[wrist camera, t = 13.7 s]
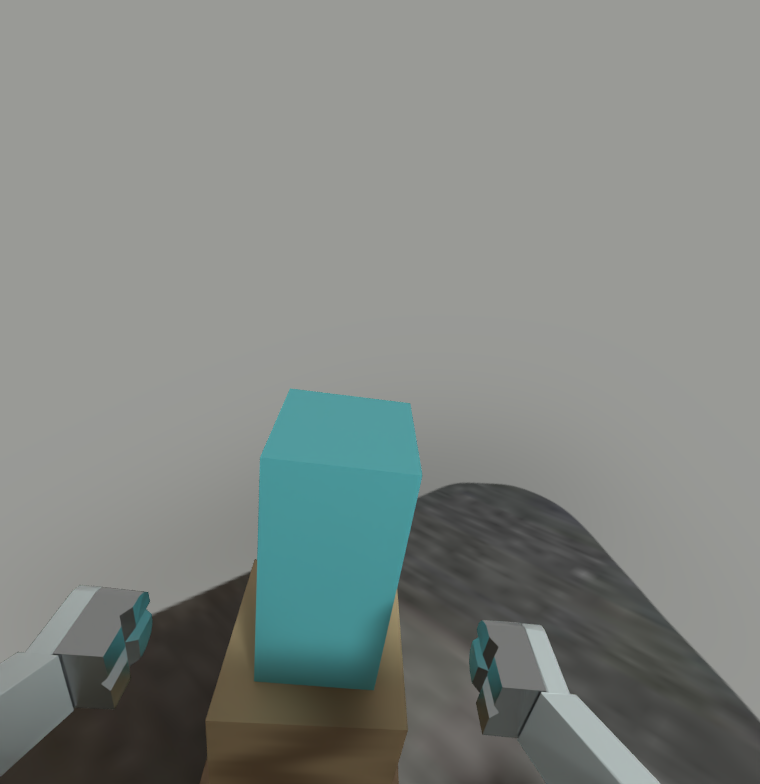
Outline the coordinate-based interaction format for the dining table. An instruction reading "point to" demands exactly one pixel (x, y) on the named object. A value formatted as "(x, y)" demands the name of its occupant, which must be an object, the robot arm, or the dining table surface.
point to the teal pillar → (332, 537)
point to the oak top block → (303, 719)
